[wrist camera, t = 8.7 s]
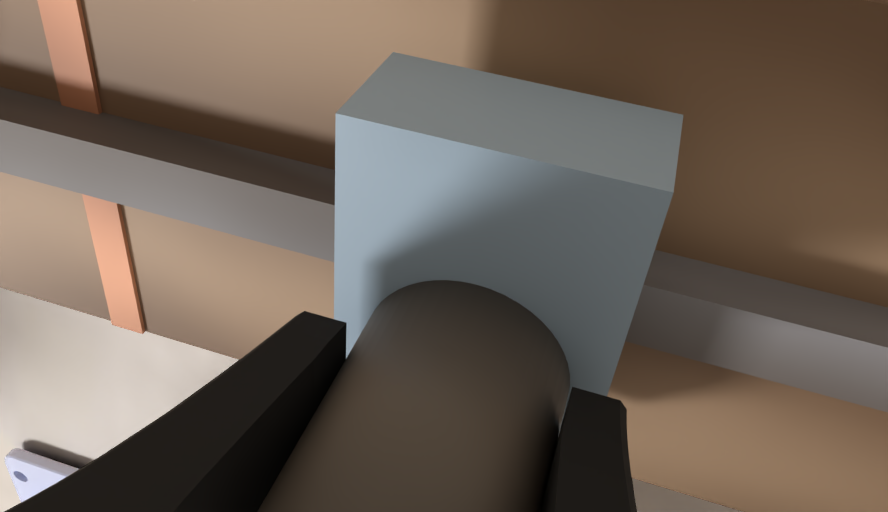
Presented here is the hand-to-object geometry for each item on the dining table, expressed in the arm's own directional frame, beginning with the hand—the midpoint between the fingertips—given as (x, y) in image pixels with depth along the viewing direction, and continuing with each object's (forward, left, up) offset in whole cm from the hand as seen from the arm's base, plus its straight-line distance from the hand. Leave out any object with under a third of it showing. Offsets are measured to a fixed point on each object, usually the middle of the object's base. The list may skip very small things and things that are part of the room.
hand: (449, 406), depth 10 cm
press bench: (0, +5, -5) cm, 8 cm away
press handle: (0, 0, -3) cm, 3 cm away
